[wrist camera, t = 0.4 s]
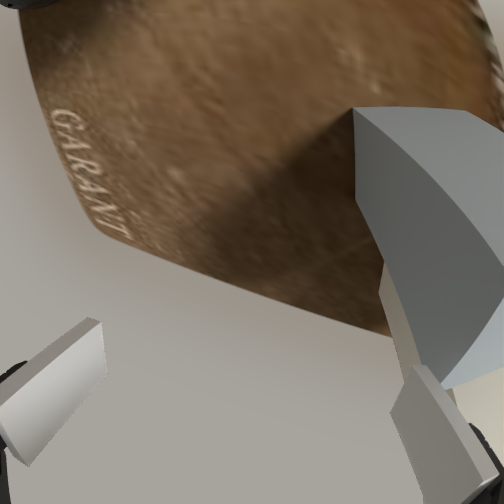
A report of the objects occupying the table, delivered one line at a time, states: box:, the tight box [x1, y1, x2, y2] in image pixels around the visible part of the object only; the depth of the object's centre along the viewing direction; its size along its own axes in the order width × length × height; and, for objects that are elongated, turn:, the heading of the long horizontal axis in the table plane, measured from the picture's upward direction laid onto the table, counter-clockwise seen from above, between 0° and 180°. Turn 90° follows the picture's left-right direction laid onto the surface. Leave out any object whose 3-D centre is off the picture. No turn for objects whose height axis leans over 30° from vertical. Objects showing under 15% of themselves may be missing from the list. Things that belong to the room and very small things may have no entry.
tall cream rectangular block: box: [378, 262, 504, 504], centre depth 19 cm, size 10×15×30 cm, turn 101°
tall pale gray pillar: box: [353, 107, 504, 390], centre depth 15 cm, size 9×12×19 cm
